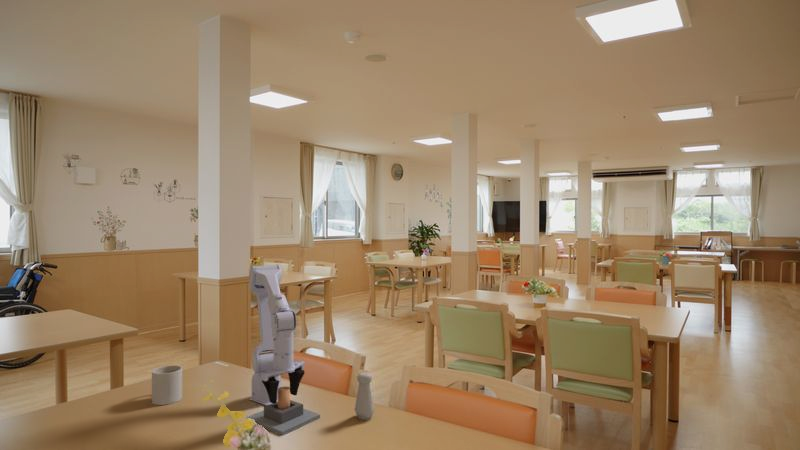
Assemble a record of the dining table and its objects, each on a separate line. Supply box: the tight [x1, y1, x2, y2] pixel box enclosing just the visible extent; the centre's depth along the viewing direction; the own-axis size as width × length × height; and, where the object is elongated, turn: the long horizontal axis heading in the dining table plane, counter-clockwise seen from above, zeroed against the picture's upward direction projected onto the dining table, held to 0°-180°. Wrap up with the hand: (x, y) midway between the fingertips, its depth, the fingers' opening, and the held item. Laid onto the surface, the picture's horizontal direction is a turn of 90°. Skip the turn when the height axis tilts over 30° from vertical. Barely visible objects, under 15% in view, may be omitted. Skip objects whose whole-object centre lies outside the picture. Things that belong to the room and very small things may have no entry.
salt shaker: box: [354, 371, 375, 421], centre depth 135 cm, size 6×6×13 cm
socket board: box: [246, 399, 321, 436], centre depth 134 cm, size 16×14×4 cm
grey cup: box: [151, 364, 183, 406], centre depth 150 cm, size 11×10×10 cm
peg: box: [278, 386, 291, 410], centre depth 134 cm, size 4×4×8 cm
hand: (283, 398), depth 134 cm, fingers open, 7 cm apart
